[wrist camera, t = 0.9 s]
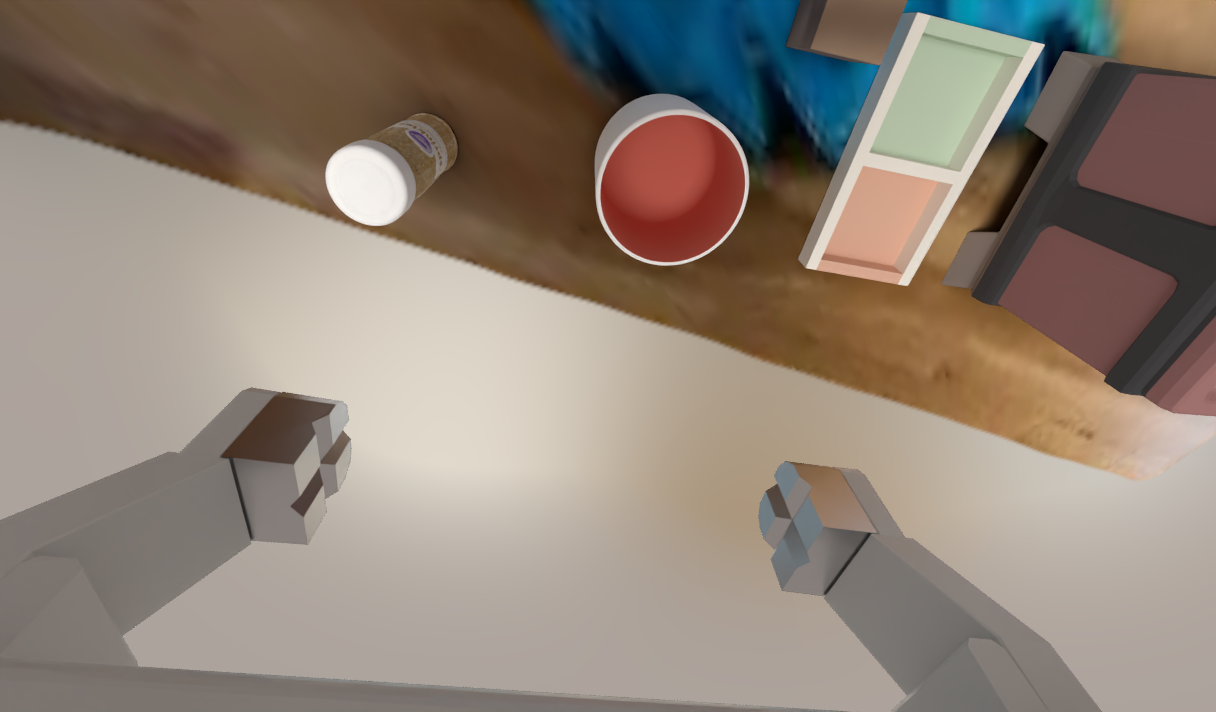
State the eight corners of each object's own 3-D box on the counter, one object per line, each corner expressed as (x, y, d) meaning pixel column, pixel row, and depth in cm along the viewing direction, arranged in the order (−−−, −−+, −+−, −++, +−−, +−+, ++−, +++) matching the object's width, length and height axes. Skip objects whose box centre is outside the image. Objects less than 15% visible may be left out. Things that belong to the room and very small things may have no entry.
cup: (715, 82, 38) (752, 97, 29) (717, 212, 43) (748, 256, 35) (585, 102, 38) (584, 122, 30) (603, 228, 44) (606, 275, 35)
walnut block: (812, -39, 34) (844, -48, 30) (879, -21, 35) (919, -28, 30) (785, 46, 37) (810, 48, 32) (847, 61, 37) (880, 65, 33)
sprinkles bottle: (468, 134, 39) (419, 176, 28) (444, 184, 41) (390, 242, 30) (412, 98, 38) (336, 128, 26) (390, 152, 40) (312, 200, 28)
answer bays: (902, 13, 36) (917, 12, 34) (1024, 44, 37) (1044, 44, 35) (797, 259, 46) (805, 268, 44) (896, 276, 47) (907, 286, 45)
